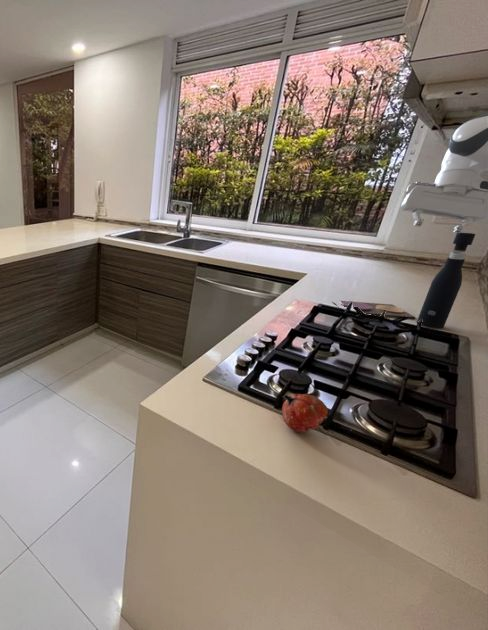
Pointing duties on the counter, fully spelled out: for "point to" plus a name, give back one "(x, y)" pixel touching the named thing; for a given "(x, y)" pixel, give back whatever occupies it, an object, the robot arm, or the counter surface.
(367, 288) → the counter surface
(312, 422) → the pomegranate
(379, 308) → the placemat
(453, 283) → the dark water bottle
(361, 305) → the plum plate
